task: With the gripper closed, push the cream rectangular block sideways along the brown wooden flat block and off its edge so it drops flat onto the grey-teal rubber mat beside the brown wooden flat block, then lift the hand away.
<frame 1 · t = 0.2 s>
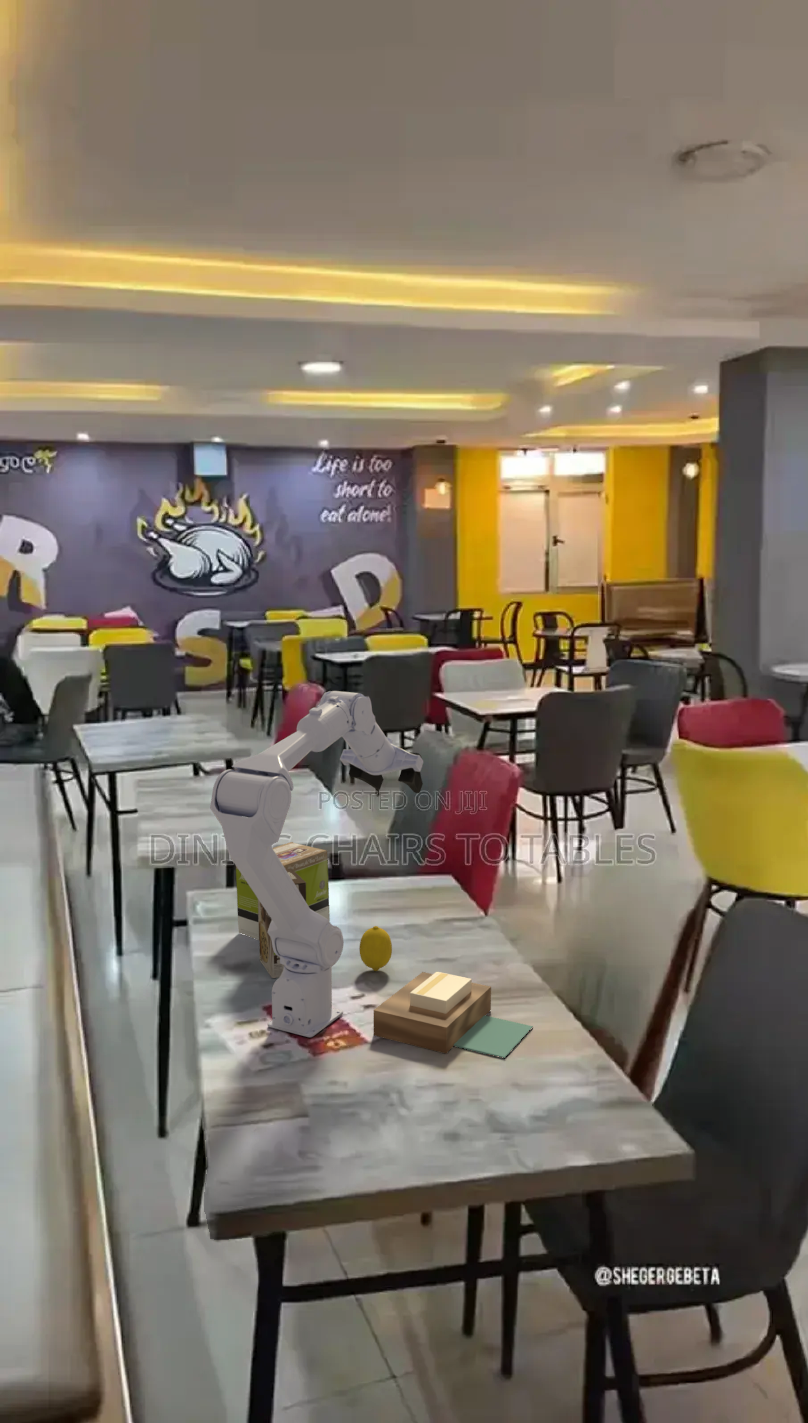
hand: (399, 786, 184), 31 cm above the table, tool tilted 45°, fingers open, 7 cm apart
lemon: (375, 971, 184), on the table
mat: (493, 1036, 160), on the table
cream rectangular block: (441, 998, 164), point 4 cm above the table, touching brown wooden flat block
brown wooden flat block: (433, 1022, 165), on the table
coffee box: (282, 967, 186), on the table
tea box: (284, 930, 203), on the table
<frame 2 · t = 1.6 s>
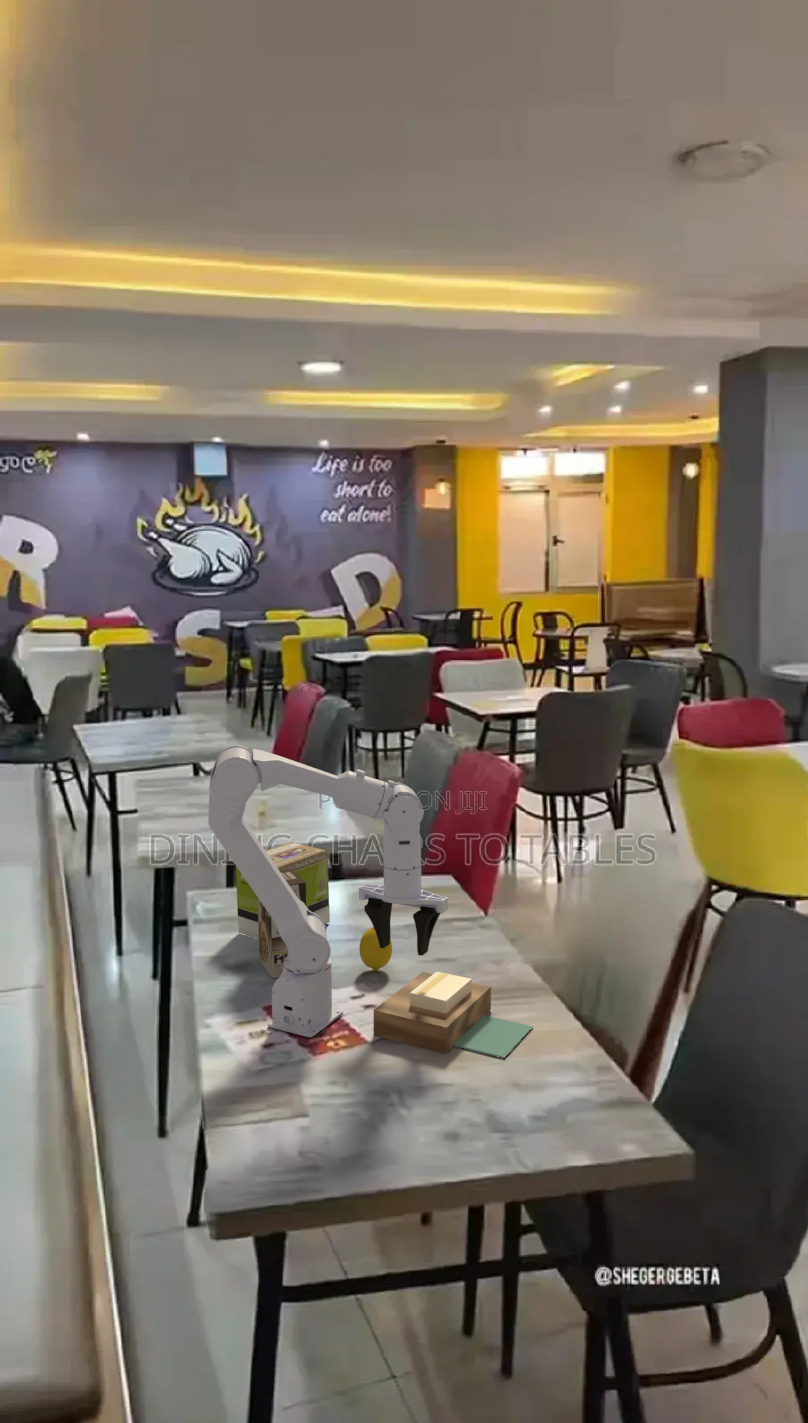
hand: (403, 949, 166), 10 cm above the table, tool pointing down, fingers open, 6 cm apart
nothing on the table moved.
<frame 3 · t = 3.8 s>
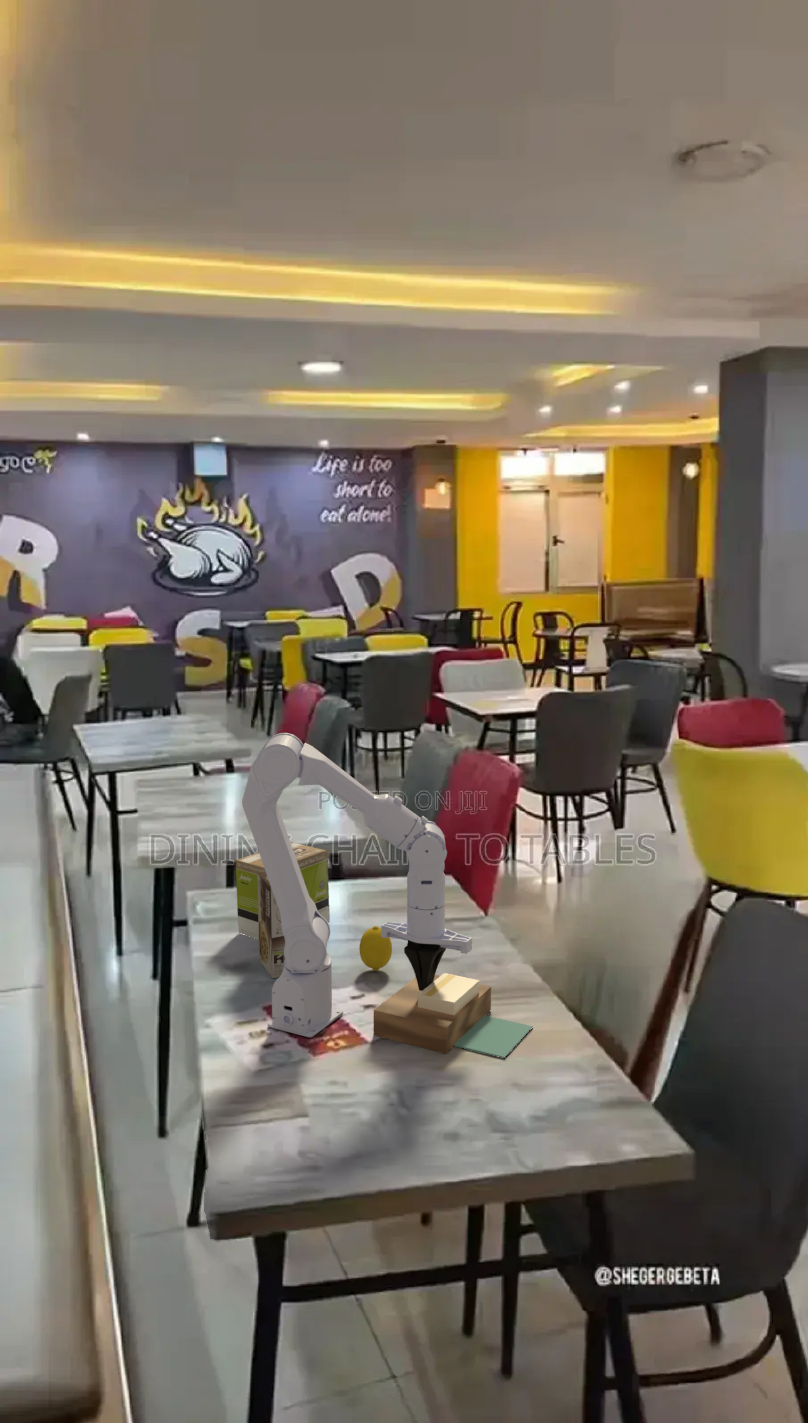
hand: (425, 988, 165), 5 cm above the table, tool pointing down, fingers closed
cream rectangular block: (449, 999, 163), point 4 cm above the table, touching brown wooden flat block, gripper
everything else where it was.
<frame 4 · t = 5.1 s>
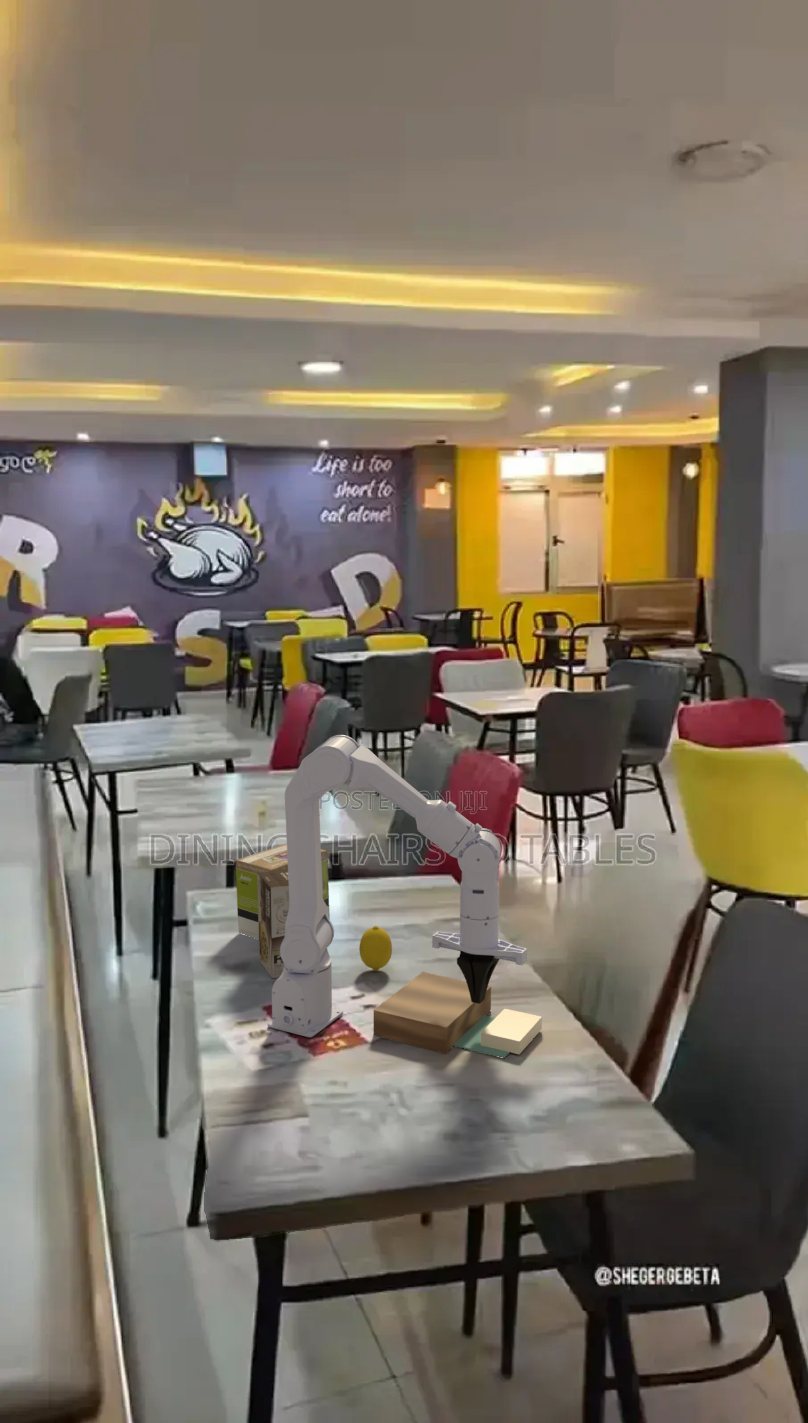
hand: (478, 1000, 161), 5 cm above the table, tool pointing down, fingers closed
cream rectangular block: (511, 1024, 159), point 2 cm above the table, tilted 180°, touching mat
everything else where it was.
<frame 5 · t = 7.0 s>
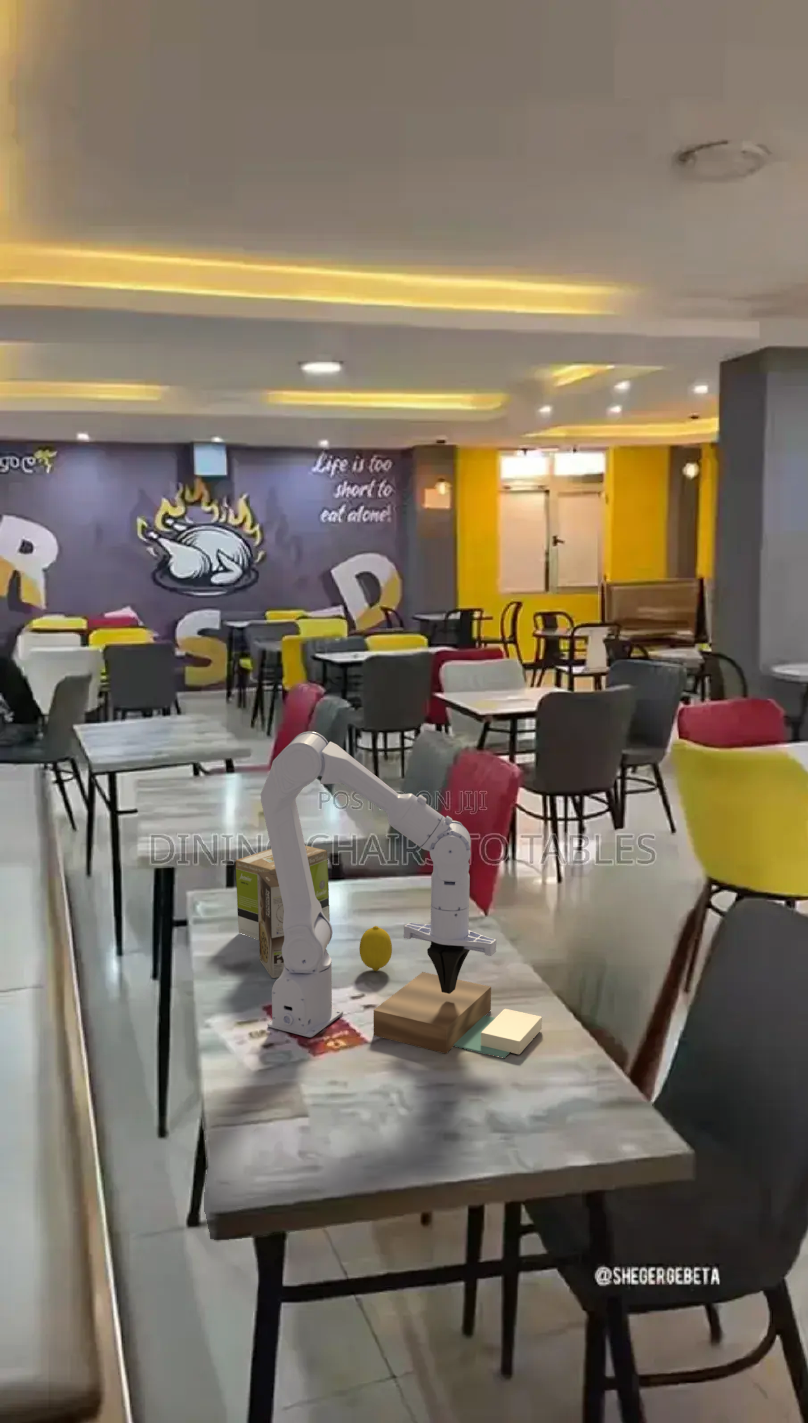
hand: (448, 990, 163), 5 cm above the table, tool pointing down, fingers closed
nothing on the table moved.
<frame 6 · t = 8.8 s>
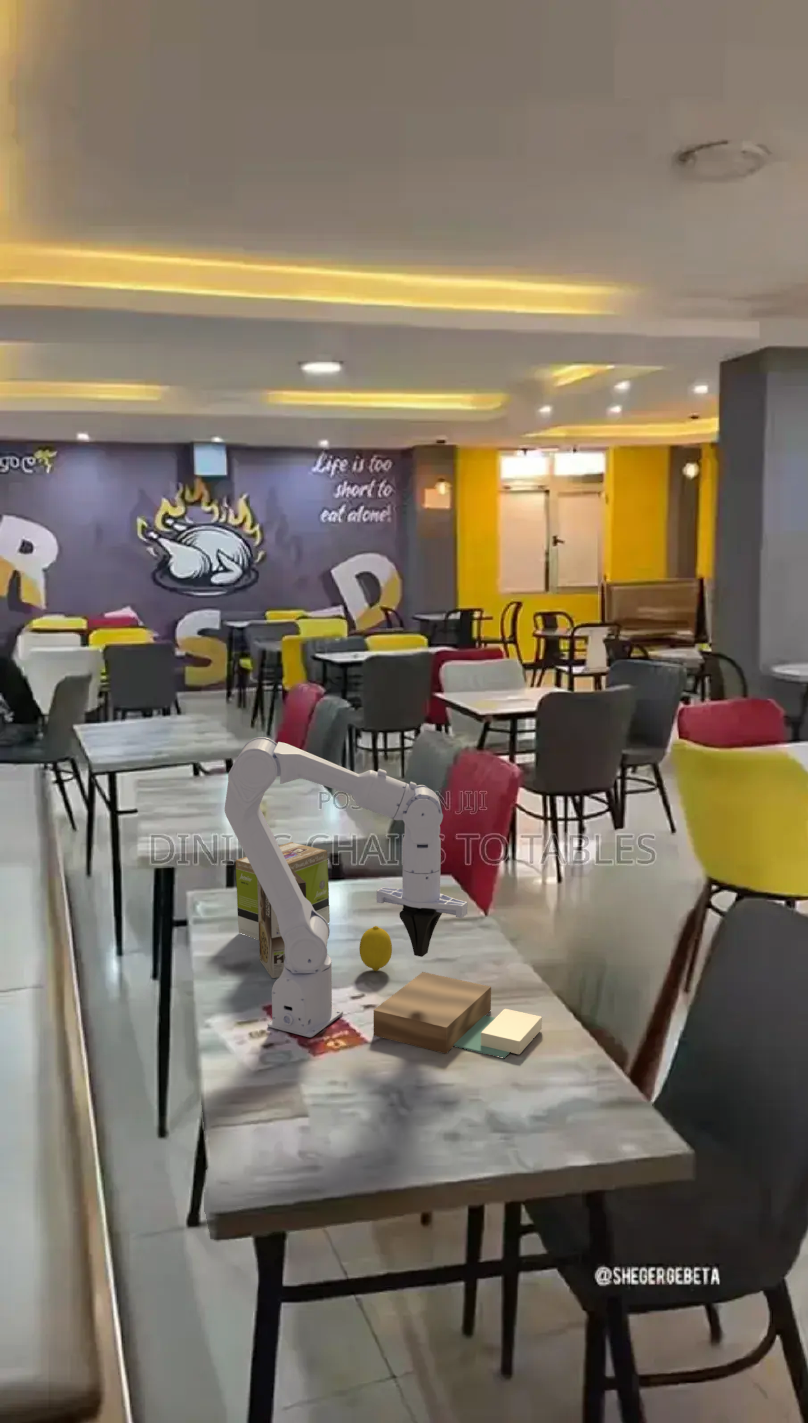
hand: (420, 953, 164), 10 cm above the table, tool pointing down, fingers closed
nothing on the table moved.
at the end: cream rectangular block point 2.3 cm above the table; cream rectangular block inside the target area on the mat (2.6 cm from its centre), point 2.3 cm above the mat's base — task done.
